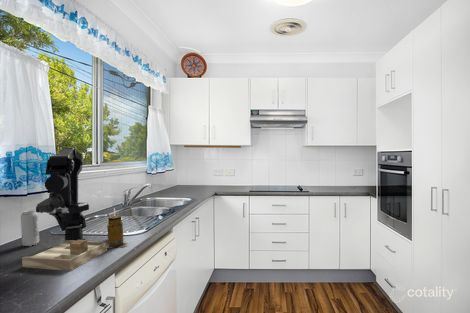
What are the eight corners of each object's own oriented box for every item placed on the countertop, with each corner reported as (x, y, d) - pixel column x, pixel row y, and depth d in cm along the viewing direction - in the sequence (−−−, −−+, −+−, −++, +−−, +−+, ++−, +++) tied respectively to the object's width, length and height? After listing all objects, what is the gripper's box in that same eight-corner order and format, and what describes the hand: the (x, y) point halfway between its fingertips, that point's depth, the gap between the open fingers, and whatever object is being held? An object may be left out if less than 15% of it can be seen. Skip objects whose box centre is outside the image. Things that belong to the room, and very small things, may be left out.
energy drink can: (26, 243, 120) (24, 210, 120) (41, 241, 122) (40, 208, 122) (19, 247, 115) (17, 213, 114) (35, 246, 116) (33, 211, 116)
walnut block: (78, 250, 102) (78, 239, 102) (87, 250, 102) (87, 240, 101) (70, 254, 99) (69, 243, 98) (79, 254, 98) (79, 243, 98)
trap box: (65, 248, 112) (64, 240, 112) (106, 250, 108) (106, 242, 108) (22, 267, 94) (22, 257, 94) (70, 270, 90) (69, 260, 90)
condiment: (110, 242, 118) (109, 215, 117) (130, 241, 119) (129, 214, 118) (104, 248, 110) (103, 219, 110) (125, 247, 111) (124, 218, 111)
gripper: (20, 192, 95) (22, 236, 95) (64, 192, 91) (66, 238, 91) (48, 187, 105) (50, 227, 106) (89, 187, 101) (91, 228, 102)
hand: (63, 230), depth 101 cm, fingers closed
